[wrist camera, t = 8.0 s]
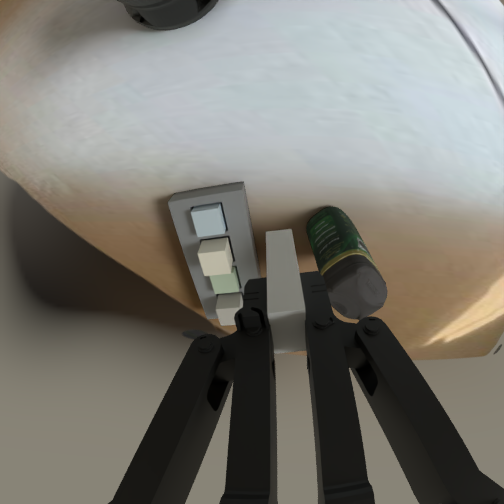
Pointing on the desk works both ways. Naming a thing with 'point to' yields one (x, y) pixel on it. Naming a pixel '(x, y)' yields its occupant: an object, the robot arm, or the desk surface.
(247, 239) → the keypad
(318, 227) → the coffee jar
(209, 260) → the key cream
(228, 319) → the key grey
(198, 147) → the desk surface
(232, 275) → the key sage
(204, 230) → the key blue
